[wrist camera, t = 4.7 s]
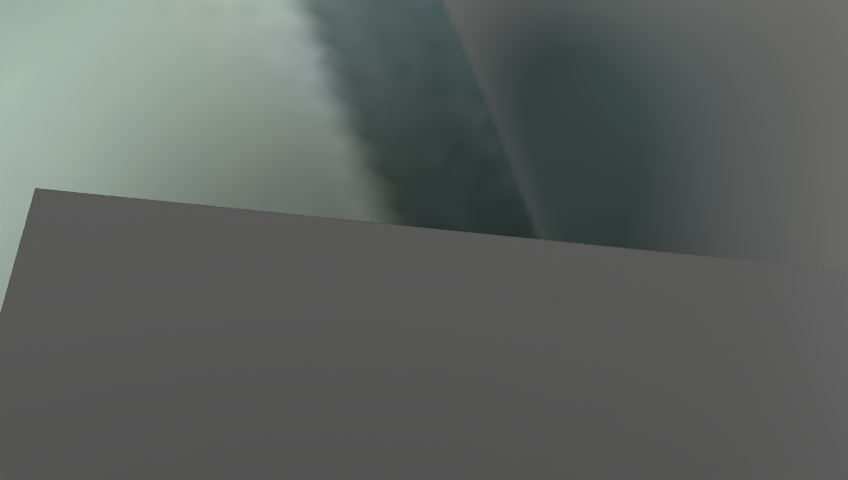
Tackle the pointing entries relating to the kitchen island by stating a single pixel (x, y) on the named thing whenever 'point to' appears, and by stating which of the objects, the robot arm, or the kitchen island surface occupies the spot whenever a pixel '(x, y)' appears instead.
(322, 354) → the iec plug
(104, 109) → the kitchen island surface
